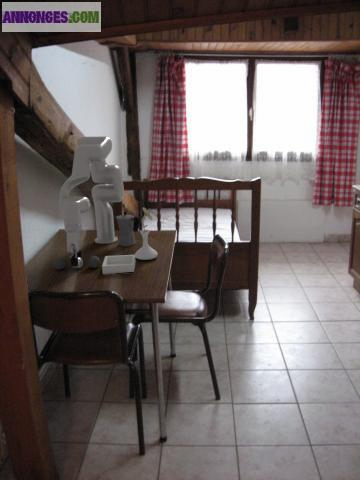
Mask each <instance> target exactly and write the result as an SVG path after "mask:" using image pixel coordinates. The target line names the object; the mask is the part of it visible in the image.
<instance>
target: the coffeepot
mask: <svg viewBox="0 0 360 480" xmlns="http://www.w3.org/2000/svg"><path fill="white" fill-rule="evenodd" d="M114 218H115V219H116V221H117V226H118V229H119V237H118V245H119V246H120V247H132V246H134V245H136V238H135V233H137V232H138V230H139V226H140V223H141V221H140V219H139V217H138V216H134V215H131V214H127V211H123V215H122V214H121V215H116V216H115V217H114ZM135 221H136V225H135V229H134V222H135ZM134 232H135V233H134Z"/></svg>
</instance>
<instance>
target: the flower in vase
mask: <svg viewBox="0 0 360 480" xmlns="http://www.w3.org/2000/svg"><path fill="white" fill-rule="evenodd" d="M142 211H143V213H144V217H143V221H142V223H141V224H142V226H143V227H142V229H141V230H139V233H140V235H141V236H142V246H140V248H139V249H138V250H136V252H135V253H134V255H135V259H137V260H141V261H142V260H143V261H145V260H146V261H148V260H153V259H155V258H157V257H158V255H159V254H158V251H157V250H156V249H153V248H152V247H151V246H150V245H149V241H148V240H149V234H150V232H151V230H150V229H145V228H146V227H148V225H147V224H144V222H145V218H146V217H147V218H148V219H149V220H150V221H153V220H154V219H153V216H152V215H151V214H150V211H148V210H147V208H146V207H145V206H143V207H142Z"/></svg>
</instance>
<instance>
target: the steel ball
mask: <svg viewBox="0 0 360 480" xmlns="http://www.w3.org/2000/svg"><path fill="white" fill-rule="evenodd" d="M83 264H84V261H83V258H82V259H81V258H80V257H78V266H71V267H72V268H73V269H75V270H76V269H81V268H82V266H83Z"/></svg>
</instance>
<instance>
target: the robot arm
mask: <svg viewBox="0 0 360 480" xmlns="http://www.w3.org/2000/svg"><path fill="white" fill-rule="evenodd" d="M76 145H77V146H76V148H75V149H74V154H73V162H72V171H71V175H70V176H69V177H68V178H67V179H66V180H65V182H64V183H63V184H62V186H61V188H60V190H59V197H58V208H59V210H60V211H61V212H62V216H63V225H64V232H66V248H67V249H66V250H67V253H68V254H69V253H70V256H69V257H70V266H71V267H72V266H78V257H80V258H81V259H82V260H83V258H82V257H83V256H82V249H81V247H82V241H81V240H82V239H81V231H82V220H81V219H82V218H81V217H82V216H81V214H85V213H87V212H88V211H89V210H90V208H91V201H90V199H89V198H88V197H86V196H69V195H70V193H71V191H72V190H73V189H74V188H75V187H77V186H78V185H81V184H83V183H85V182H87V181H88V180H89V179H90V177H91V179H92V181H93V182H94V184H95V183H96V185H93V187H92V188H91V197H92V201H93V205H94V213H95V214H94V215H95V225H96V236H97V237H96V238H95V239H94V242H95V243H96V244H98V245H99V244H101V245H107V244H113V243H116V242H118V241H119V237H118V236H116V235H115V224H114V223H115V222H114V210H113V208H112V206H111V204H110V203H120V202H123V200H124V199H125V188H124V187H125V186H124V179H123V173H122V169H121V168H120V166H118V165H116V164H107V162H106V159H107V157H108V156H109V155H110V153H111V152H112V149H113V141H112V140H111V138H110V137H108V136H104V135H103V136H82V137H79V138H78V139H77V140H76Z"/></svg>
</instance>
